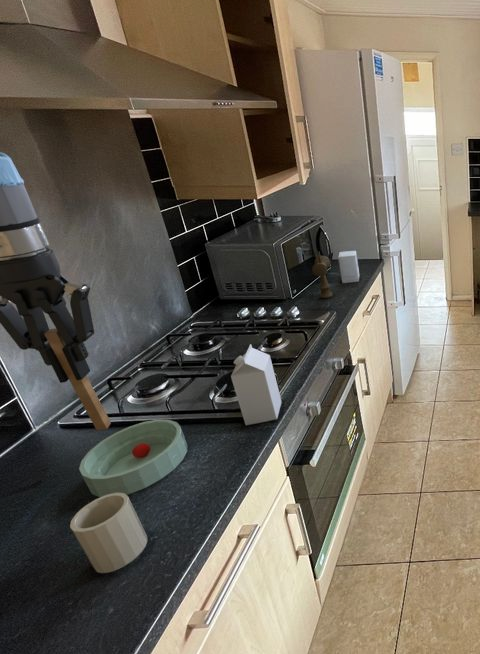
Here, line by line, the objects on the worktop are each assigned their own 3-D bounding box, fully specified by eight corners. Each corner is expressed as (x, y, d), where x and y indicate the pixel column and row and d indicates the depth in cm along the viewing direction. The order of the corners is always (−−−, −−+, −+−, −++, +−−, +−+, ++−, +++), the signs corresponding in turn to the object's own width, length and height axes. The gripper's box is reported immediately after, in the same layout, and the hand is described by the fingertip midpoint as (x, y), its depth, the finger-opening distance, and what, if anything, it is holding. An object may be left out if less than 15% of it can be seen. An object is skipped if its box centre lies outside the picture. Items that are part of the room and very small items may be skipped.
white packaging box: (359, 281, 187) (355, 255, 182) (341, 283, 185) (337, 257, 181) (360, 275, 194) (356, 250, 189) (343, 277, 192) (339, 251, 187)
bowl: (71, 510, 82) (59, 488, 80) (116, 448, 97) (107, 428, 95) (170, 488, 87) (161, 467, 85) (199, 432, 102) (192, 413, 99)
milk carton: (282, 402, 112) (266, 341, 105) (277, 420, 106) (260, 356, 99) (252, 407, 110) (234, 346, 103) (245, 426, 104) (226, 362, 96)
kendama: (335, 291, 178) (328, 246, 170) (333, 300, 169) (325, 254, 162) (320, 292, 176) (312, 248, 169) (317, 302, 168) (308, 255, 160)
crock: (85, 581, 70) (59, 537, 66) (109, 541, 76) (86, 498, 72) (137, 568, 72) (114, 524, 68) (156, 530, 78) (136, 488, 74)
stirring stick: (96, 430, 79) (43, 334, 70) (101, 424, 80) (49, 329, 71) (107, 428, 79) (55, 332, 70) (111, 422, 81) (61, 327, 71)
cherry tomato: (140, 441, 95) (154, 441, 95) (137, 455, 94) (152, 455, 95) (129, 445, 92) (144, 445, 92) (127, 459, 91) (142, 459, 92)
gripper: (-68, 266, 60) (6, 398, 69) (61, 255, 64) (115, 381, 73) (-25, 250, 67) (37, 372, 75) (88, 241, 71) (135, 358, 80)
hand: (75, 376), depth 74 cm, fingers closed on stirring stick, 2 cm apart
